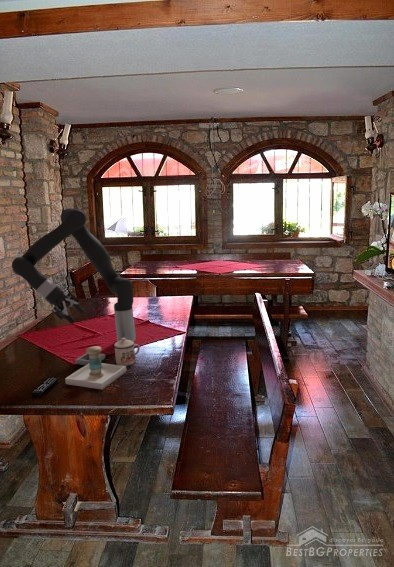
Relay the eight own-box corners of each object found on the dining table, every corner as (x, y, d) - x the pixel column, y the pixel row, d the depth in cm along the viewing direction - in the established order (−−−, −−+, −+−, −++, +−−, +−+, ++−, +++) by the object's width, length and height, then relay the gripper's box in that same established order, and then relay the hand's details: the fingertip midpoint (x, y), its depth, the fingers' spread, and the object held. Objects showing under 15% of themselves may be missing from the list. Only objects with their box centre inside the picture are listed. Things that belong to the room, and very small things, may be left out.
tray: (92, 367, 202) (91, 361, 201) (126, 371, 195) (126, 366, 194) (65, 384, 186) (65, 378, 185) (102, 389, 179) (101, 383, 178)
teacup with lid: (121, 368, 199) (118, 343, 196) (112, 362, 206) (109, 338, 204) (145, 360, 206) (143, 336, 203) (135, 355, 213) (133, 332, 210)
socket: (88, 356, 215) (88, 352, 215) (105, 358, 212) (104, 354, 211) (75, 363, 207) (75, 359, 206) (93, 366, 203) (92, 361, 203)
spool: (94, 372, 194) (91, 345, 192) (106, 373, 192) (103, 347, 189) (86, 377, 189) (83, 350, 186) (98, 379, 186) (95, 352, 184)
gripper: (45, 295, 189) (75, 320, 192) (62, 279, 201) (90, 304, 204) (37, 304, 193) (66, 330, 195) (54, 289, 205) (81, 312, 208)
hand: (78, 316), depth 200 cm, fingers open, 8 cm apart
